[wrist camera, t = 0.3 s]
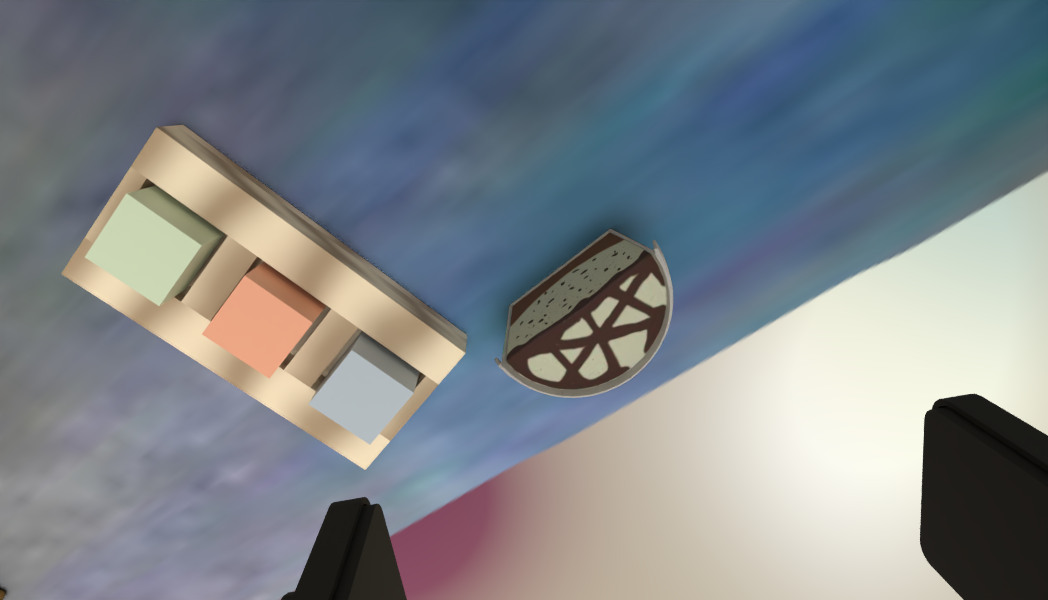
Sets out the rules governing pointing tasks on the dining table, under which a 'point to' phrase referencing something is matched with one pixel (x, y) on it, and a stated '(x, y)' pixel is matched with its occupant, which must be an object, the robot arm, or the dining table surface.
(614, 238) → the food container
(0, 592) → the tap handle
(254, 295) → the terracotta button
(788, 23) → the dining table surface
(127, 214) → the sage button
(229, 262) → the button panel
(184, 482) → the dining table surface
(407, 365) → the slate button
